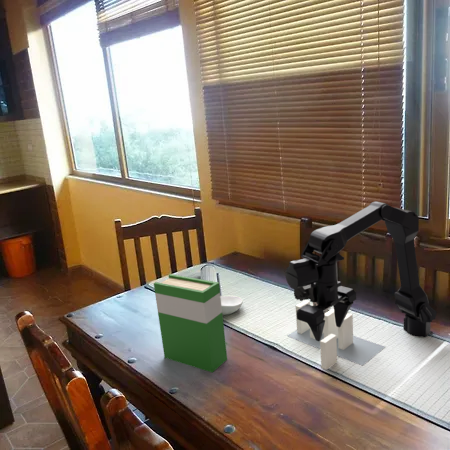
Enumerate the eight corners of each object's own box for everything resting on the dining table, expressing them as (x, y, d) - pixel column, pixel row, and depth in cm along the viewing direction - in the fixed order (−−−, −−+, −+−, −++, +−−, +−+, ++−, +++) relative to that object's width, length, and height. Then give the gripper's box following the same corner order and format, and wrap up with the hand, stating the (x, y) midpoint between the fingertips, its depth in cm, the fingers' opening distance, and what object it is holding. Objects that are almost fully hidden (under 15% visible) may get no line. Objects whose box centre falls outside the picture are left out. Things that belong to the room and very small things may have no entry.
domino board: (385, 349, 131) (385, 346, 131) (362, 368, 124) (362, 365, 123) (311, 323, 150) (310, 320, 150) (287, 338, 142) (286, 335, 142)
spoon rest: (225, 301, 174) (223, 283, 172) (250, 307, 166) (248, 289, 164) (180, 327, 157) (177, 308, 155) (205, 336, 149) (203, 316, 147)
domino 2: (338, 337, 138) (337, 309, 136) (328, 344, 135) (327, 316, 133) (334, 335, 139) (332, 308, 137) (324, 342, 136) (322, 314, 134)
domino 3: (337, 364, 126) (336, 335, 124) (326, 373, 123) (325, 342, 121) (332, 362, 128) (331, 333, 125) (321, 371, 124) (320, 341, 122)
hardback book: (164, 357, 139) (153, 283, 132) (180, 346, 144) (170, 274, 138) (212, 372, 129) (202, 292, 122) (227, 359, 134) (218, 282, 128)
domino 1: (311, 327, 145) (309, 301, 143) (301, 334, 142) (299, 307, 140) (307, 326, 147) (305, 300, 144) (297, 332, 143) (295, 305, 141)
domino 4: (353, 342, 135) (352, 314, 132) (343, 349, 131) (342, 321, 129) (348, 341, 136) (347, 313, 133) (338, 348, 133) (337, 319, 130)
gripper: (321, 261, 130) (324, 312, 135) (278, 284, 119) (282, 338, 123) (356, 269, 122) (358, 323, 126) (313, 294, 110) (316, 352, 115)
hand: (328, 333), depth 123 cm, fingers open, 9 cm apart
